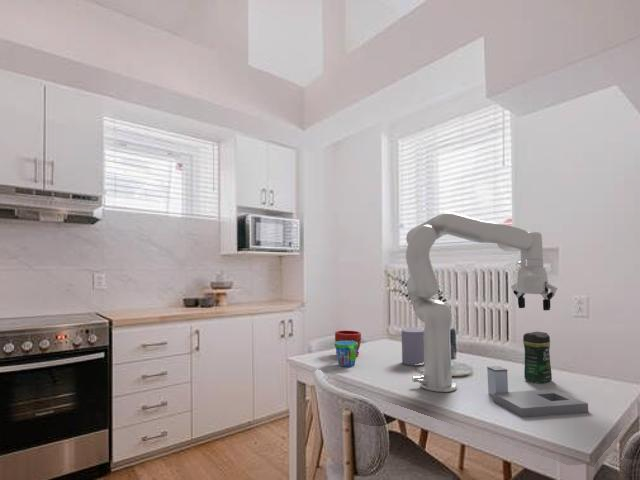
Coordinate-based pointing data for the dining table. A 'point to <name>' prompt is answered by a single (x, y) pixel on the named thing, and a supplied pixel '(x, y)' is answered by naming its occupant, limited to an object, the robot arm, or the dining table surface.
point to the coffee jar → (537, 357)
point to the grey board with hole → (540, 402)
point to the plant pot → (348, 337)
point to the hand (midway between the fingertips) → (533, 309)
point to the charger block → (497, 380)
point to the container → (412, 346)
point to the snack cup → (346, 352)
